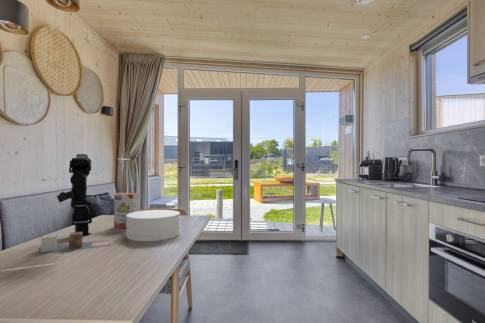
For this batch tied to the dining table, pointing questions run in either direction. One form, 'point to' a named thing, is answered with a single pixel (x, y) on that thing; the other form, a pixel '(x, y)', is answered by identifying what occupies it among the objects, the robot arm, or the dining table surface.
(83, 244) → the board
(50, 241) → the grey block
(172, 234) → the plate stack
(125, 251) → the dining table surface
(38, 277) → the dining table surface
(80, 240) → the walnut block
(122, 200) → the cracker box
